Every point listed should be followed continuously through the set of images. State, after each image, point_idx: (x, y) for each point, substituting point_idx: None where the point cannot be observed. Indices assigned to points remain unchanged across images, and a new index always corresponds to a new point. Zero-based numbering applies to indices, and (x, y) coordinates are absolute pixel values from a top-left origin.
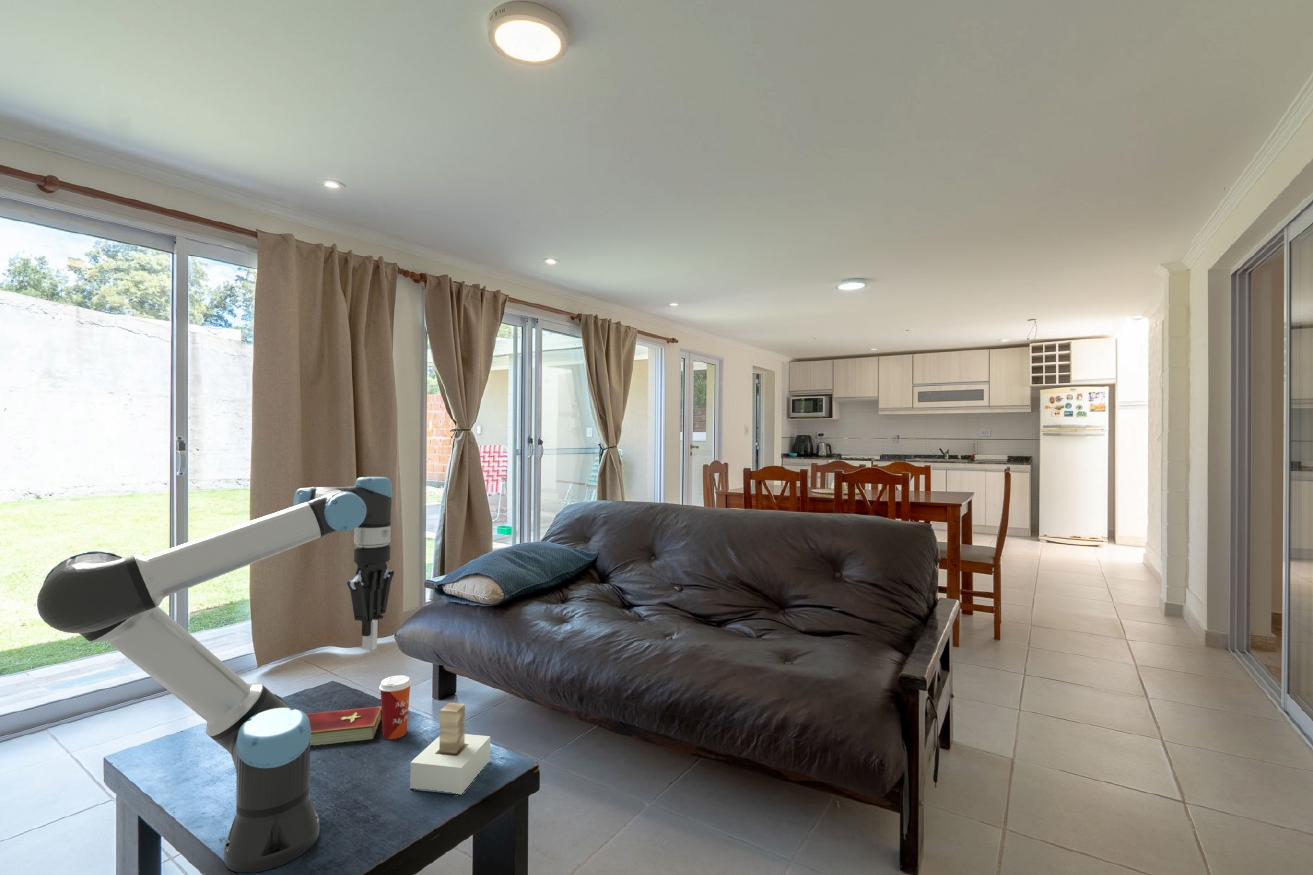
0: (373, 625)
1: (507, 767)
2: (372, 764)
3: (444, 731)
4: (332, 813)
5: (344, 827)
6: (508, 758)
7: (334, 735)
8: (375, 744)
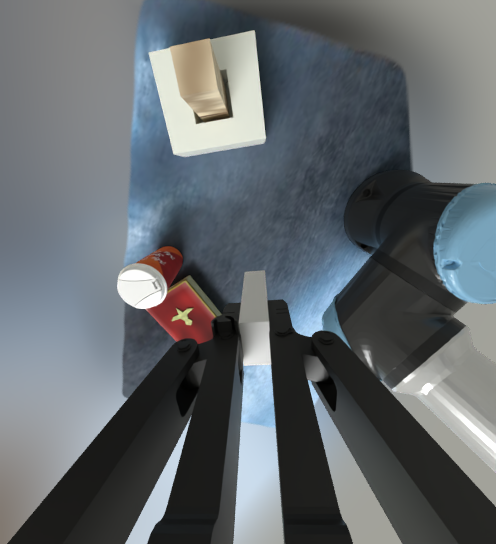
0: (267, 310)
1: (165, 26)
2: (233, 232)
3: (221, 90)
4: (327, 199)
5: (347, 164)
6: (143, 43)
7: (212, 309)
8: (198, 262)
